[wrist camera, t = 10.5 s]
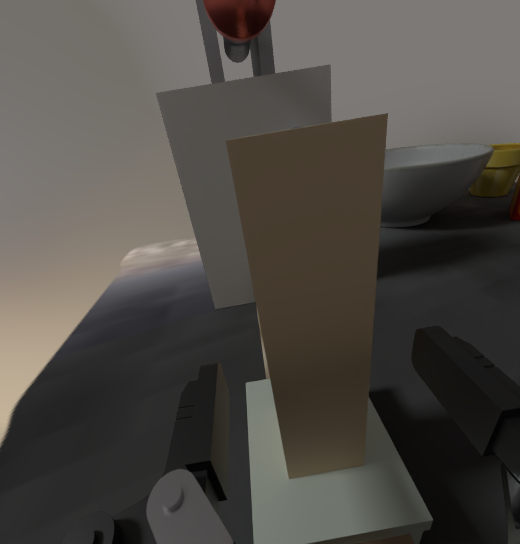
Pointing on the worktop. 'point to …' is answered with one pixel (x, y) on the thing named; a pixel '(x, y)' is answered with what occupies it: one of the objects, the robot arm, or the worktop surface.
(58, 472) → the worktop surface
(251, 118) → the grey tall flat block
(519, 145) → the plant pot
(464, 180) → the decorative bowl
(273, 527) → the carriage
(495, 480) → the worktop surface
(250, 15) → the ball
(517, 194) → the baking soda box
